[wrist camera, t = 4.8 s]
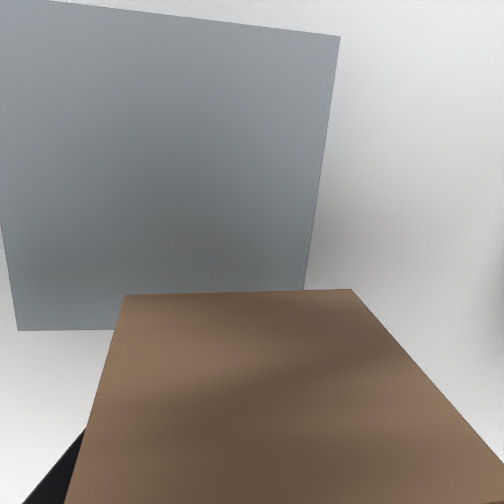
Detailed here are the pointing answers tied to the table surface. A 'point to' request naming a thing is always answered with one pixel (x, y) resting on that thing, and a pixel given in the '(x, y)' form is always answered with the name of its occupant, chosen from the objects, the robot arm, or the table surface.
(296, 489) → the walnut cube
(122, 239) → the grey base
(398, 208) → the table surface
